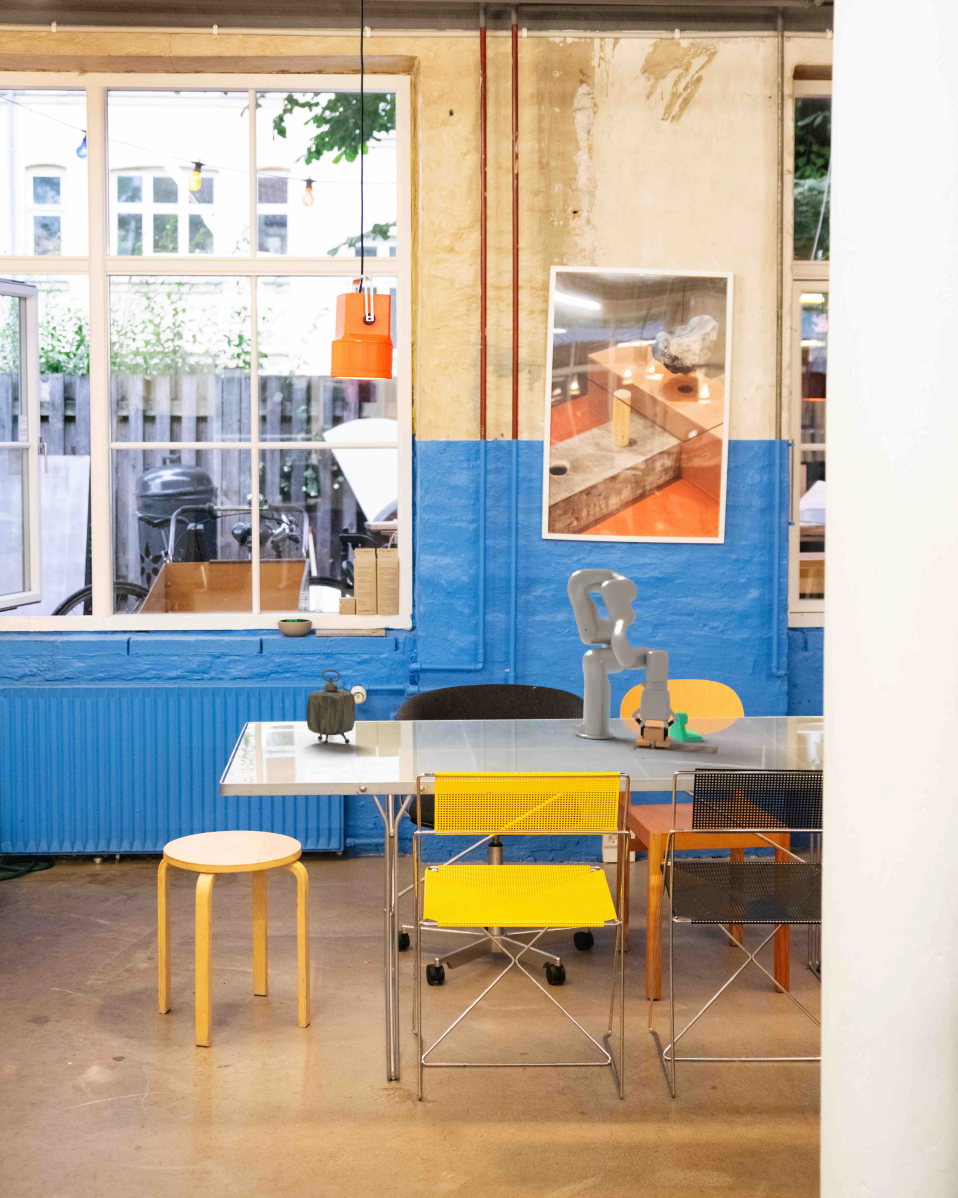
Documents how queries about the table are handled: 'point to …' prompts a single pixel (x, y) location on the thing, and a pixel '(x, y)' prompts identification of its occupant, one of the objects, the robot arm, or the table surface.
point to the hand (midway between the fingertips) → (654, 738)
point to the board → (681, 748)
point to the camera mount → (683, 729)
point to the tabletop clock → (331, 710)
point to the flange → (654, 737)
